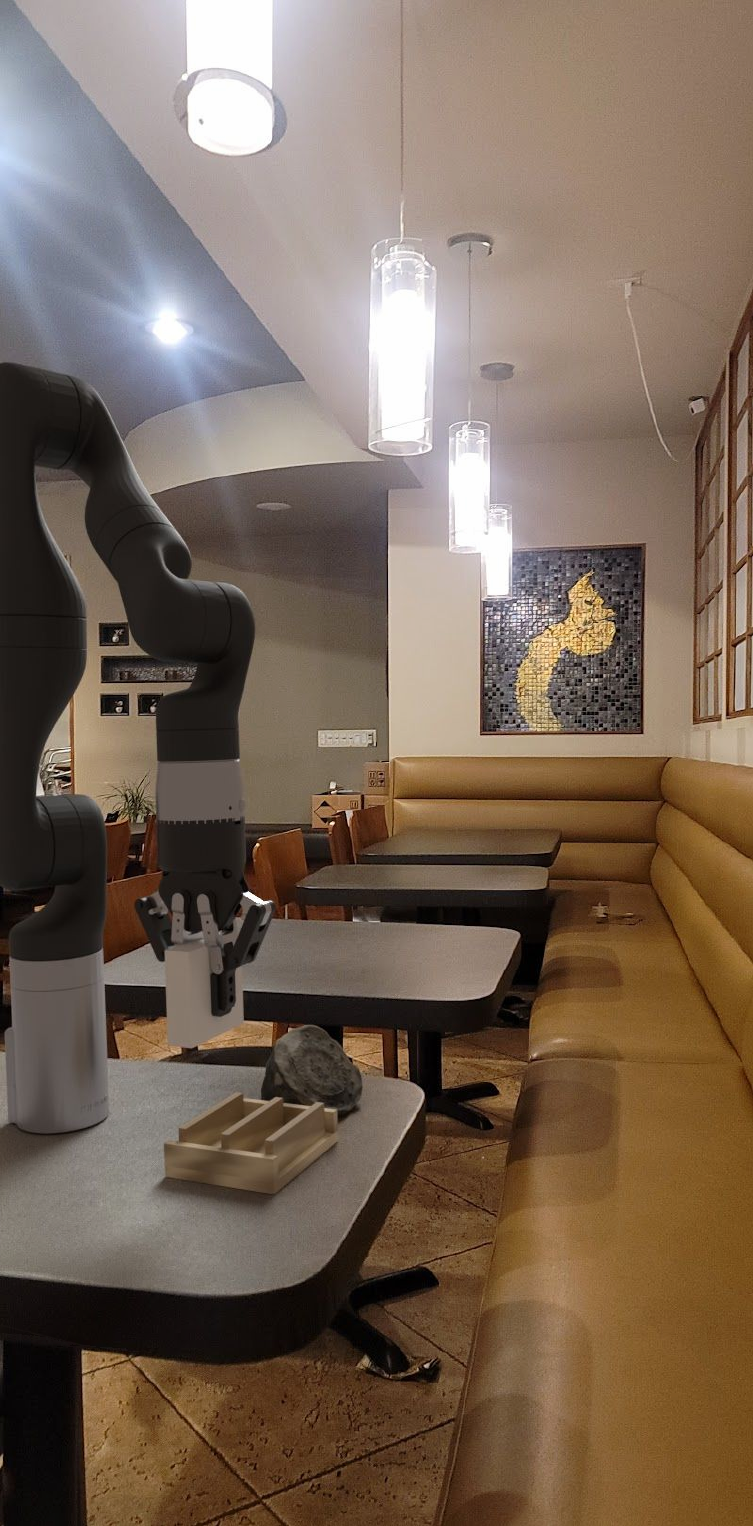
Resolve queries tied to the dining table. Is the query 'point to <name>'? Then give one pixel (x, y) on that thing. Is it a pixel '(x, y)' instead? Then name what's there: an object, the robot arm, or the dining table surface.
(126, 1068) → the dining table surface
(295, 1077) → the fossil
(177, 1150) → the rack
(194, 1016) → the upright cream slab
